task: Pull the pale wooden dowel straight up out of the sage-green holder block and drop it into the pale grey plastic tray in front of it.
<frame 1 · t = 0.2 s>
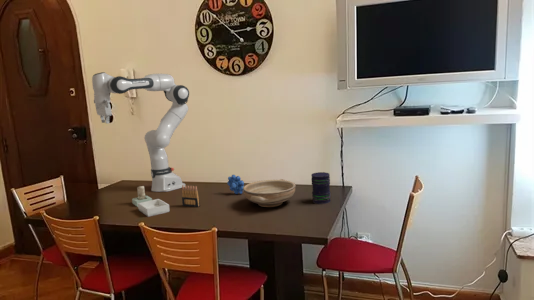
hand: (105, 123, 252), 47 cm above the table, tool pointing down, fingers open, 8 cm apart
ammunition clip: (191, 206, 234), on the table
storage jar: (321, 201, 227), on the table
holder: (142, 203, 246), on the table
tray: (154, 210, 229), on the table
dowel: (141, 195, 245), in the holder
grapes: (235, 194, 252), on the table
ceramic bowl: (270, 203, 229), on the table
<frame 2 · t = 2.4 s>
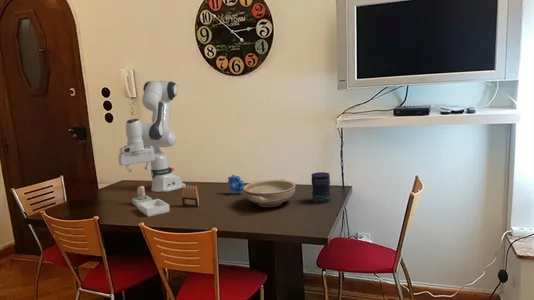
hand: (138, 170, 242), 20 cm above the table, tool pointing down, fingers open, 8 cm apart
nothing on the table moved.
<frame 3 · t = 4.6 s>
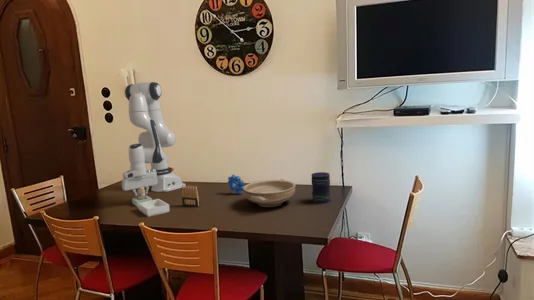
hand: (141, 195, 245), 5 cm above the table, tool pointing down, fingers closed on dowel, 4 cm apart
dowel: (141, 195, 245), in the holder, touching gripper
everything else where it was.
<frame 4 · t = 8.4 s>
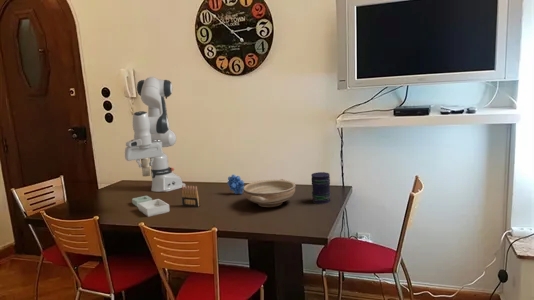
hand: (145, 166, 229), 24 cm above the table, tool pointing down, fingers closed on dowel, 4 cm apart
dowel: (145, 166, 229), point 24 cm above the table, touching gripper
everything else where it was.
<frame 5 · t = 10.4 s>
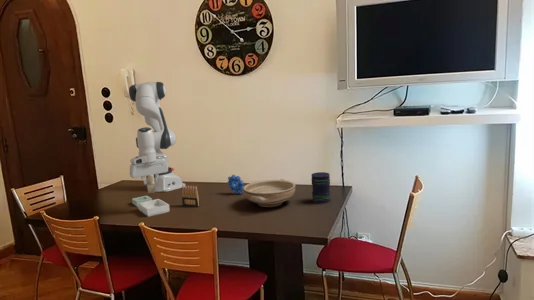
hand: (150, 183, 227), 16 cm above the table, tool pointing down, fingers closed on dowel, 4 cm apart
dowel: (150, 183, 227), point 16 cm above the table, touching gripper
everything else where it was.
when the fingers open (7 cm above the table, at t = 12.3 s): dowel stays where it is, resting on tray.
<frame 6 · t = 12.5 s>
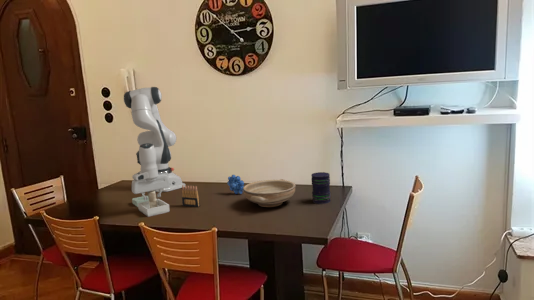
hand: (152, 198, 228), 7 cm above the table, tool pointing down, fingers open, 6 cm apart
dowel: (152, 200, 228), in the tray, point 6 cm above the table
everything else where it was.
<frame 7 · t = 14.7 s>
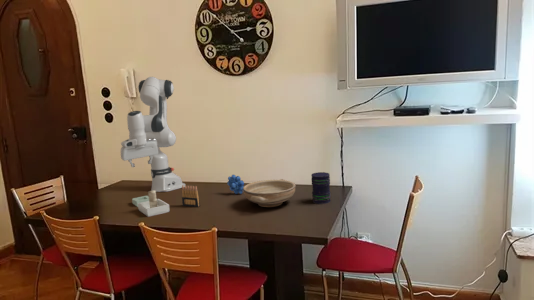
hand: (141, 165, 233), 24 cm above the table, tool pointing down, fingers open, 8 cm apart
nothing on the table moved.
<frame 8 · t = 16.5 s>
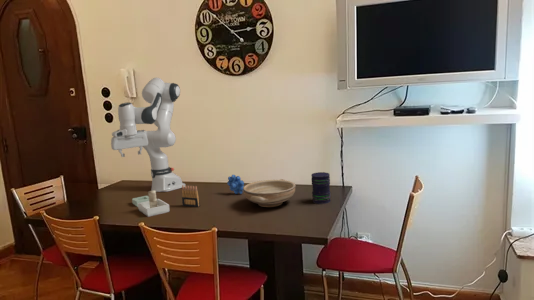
hand: (131, 155, 239), 29 cm above the table, tool pointing down, fingers open, 8 cm apart
nothing on the table moved.
at the end: dowel inside the target area on the tray (0.1 cm from its centre), point 6.0 cm above the tray's base; the gripper is holding nothing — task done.
